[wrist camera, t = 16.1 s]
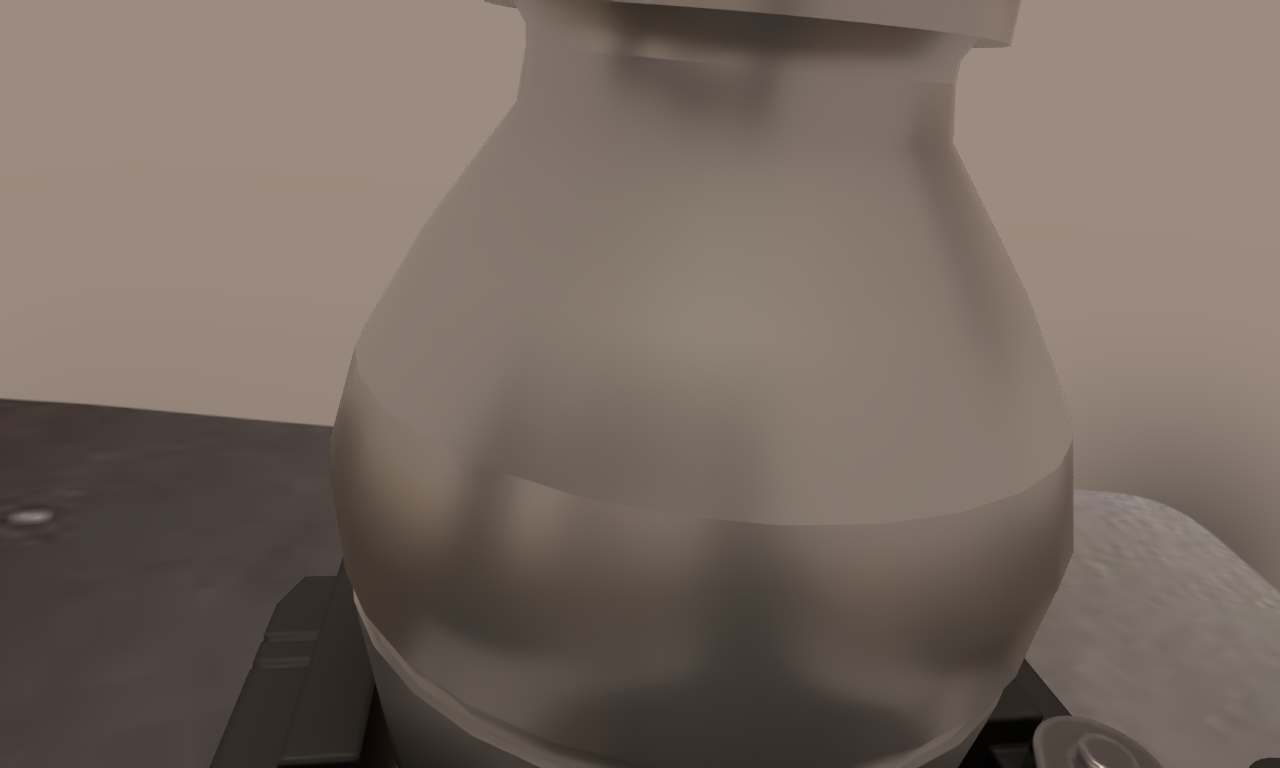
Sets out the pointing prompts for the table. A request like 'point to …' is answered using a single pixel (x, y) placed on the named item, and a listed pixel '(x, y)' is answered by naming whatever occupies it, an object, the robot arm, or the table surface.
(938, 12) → the grey metal bottle
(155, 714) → the table surface
